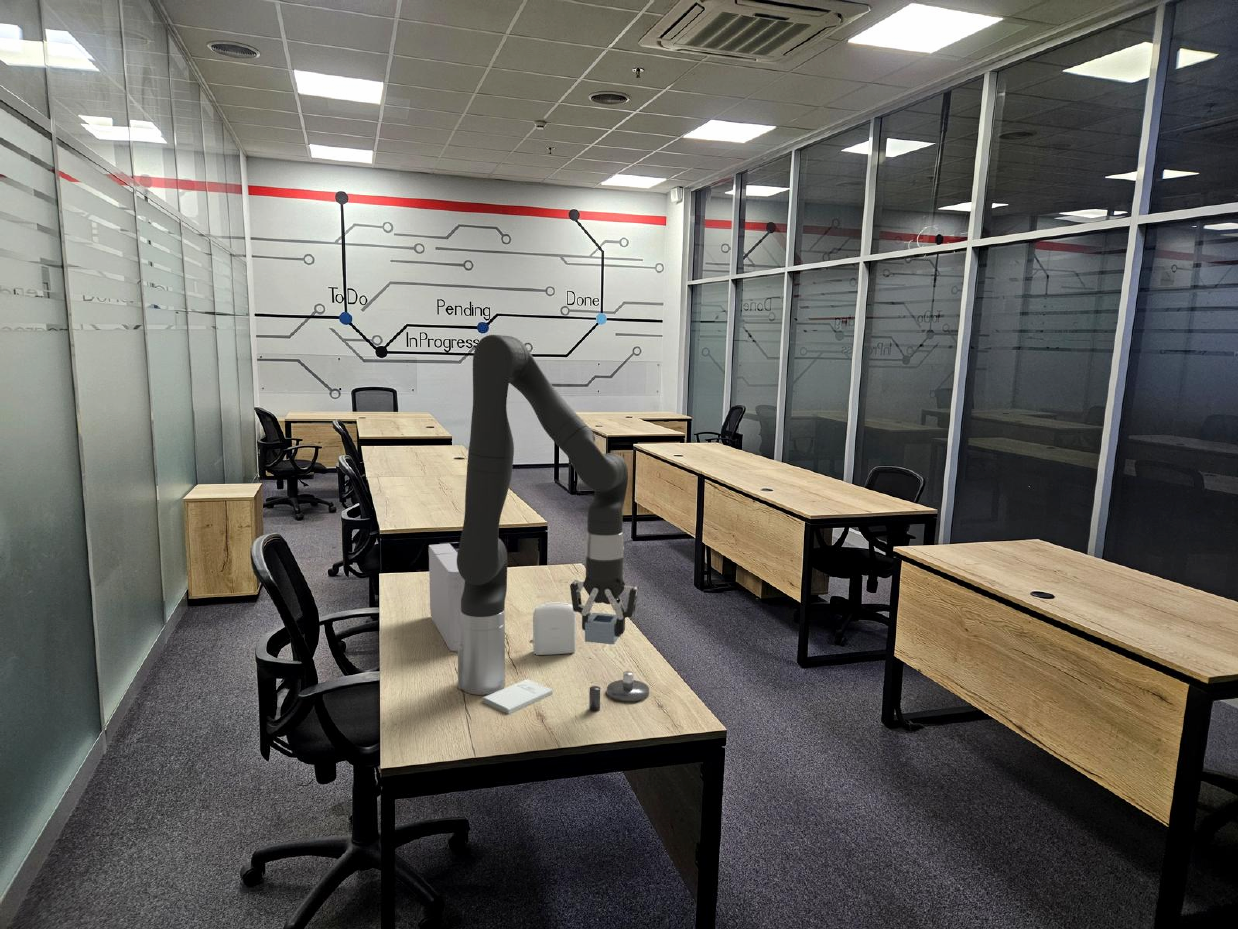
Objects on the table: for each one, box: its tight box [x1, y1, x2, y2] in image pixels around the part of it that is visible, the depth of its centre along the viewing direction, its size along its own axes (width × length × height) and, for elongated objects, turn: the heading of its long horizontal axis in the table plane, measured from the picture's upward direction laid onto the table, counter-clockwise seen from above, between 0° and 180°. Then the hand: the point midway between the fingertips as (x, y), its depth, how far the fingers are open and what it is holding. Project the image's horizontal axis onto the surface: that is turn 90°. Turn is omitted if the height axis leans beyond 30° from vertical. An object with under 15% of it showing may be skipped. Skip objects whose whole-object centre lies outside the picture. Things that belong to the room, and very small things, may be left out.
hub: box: [606, 670, 650, 703], centre depth 163 cm, size 9×9×4 cm
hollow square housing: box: [584, 612, 620, 646], centre depth 155 cm, size 6×6×4 cm
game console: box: [428, 542, 465, 652], centre depth 195 cm, size 6×27×20 cm, turn 24°
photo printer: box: [532, 601, 576, 656], centre depth 184 cm, size 10×4×12 cm, turn 100°
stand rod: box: [588, 685, 601, 713], centre depth 155 cm, size 2×2×4 cm
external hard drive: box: [481, 678, 554, 715], centre depth 160 cm, size 2×8×12 cm
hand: (603, 633), depth 155 cm, fingers closed on hollow square housing, 6 cm apart
